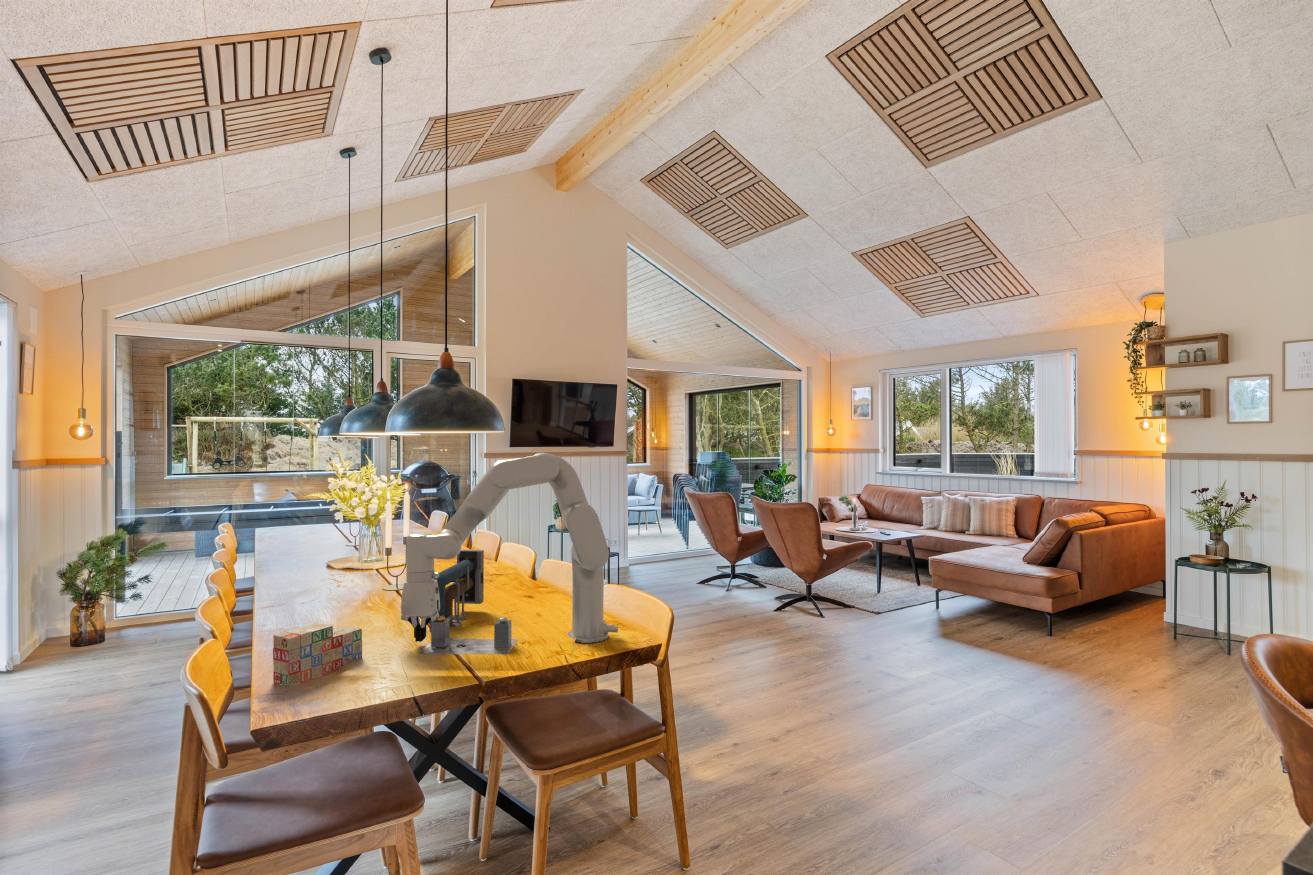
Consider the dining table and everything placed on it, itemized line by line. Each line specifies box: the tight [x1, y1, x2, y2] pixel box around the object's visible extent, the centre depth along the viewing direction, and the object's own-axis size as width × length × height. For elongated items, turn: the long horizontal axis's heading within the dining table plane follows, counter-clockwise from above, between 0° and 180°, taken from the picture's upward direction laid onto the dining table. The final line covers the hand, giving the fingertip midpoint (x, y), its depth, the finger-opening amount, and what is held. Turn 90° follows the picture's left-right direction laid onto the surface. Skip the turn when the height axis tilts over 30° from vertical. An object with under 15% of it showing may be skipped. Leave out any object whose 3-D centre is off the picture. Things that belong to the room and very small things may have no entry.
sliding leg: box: [430, 616, 451, 647], centre depth 196 cm, size 4×4×8 cm
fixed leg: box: [493, 616, 512, 648], centre depth 196 cm, size 4×4×8 cm
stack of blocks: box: [272, 622, 363, 688], centre depth 178 cm, size 21×6×12 cm, turn 152°
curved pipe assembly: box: [428, 549, 485, 633], centre depth 224 cm, size 35×9×21 cm, turn 175°
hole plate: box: [417, 638, 519, 655], centre depth 196 cm, size 25×14×1 cm, turn 90°
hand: (420, 640), depth 196 cm, fingers closed
